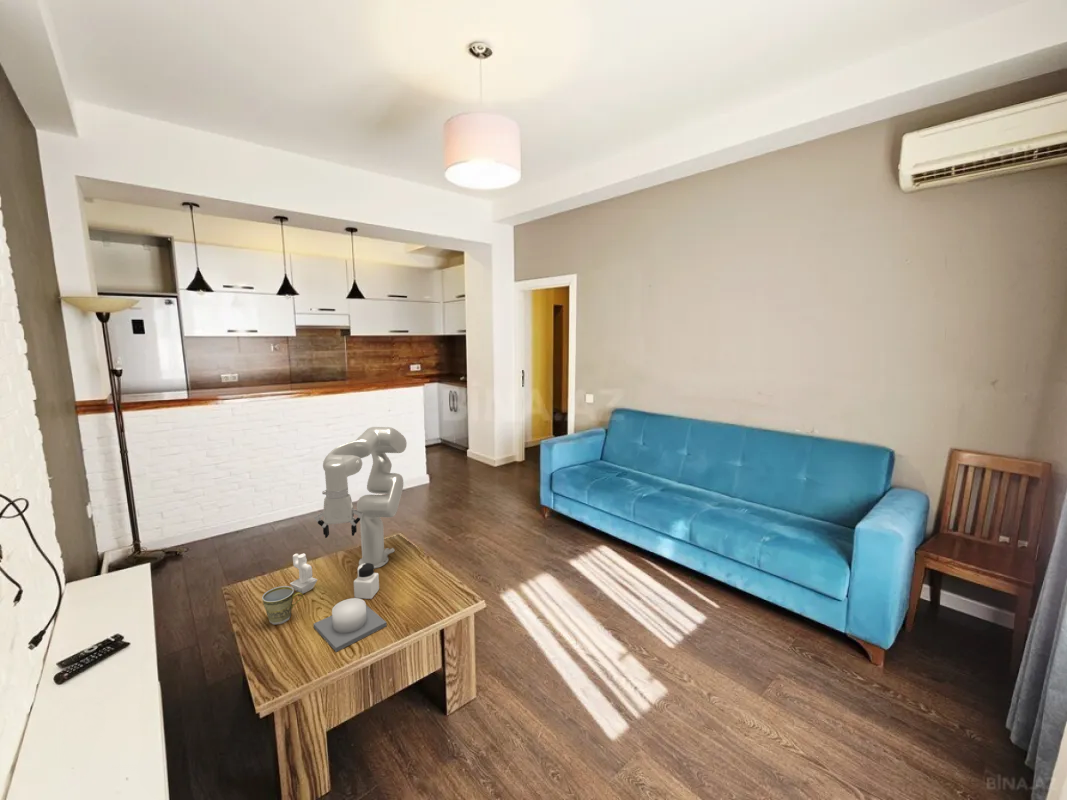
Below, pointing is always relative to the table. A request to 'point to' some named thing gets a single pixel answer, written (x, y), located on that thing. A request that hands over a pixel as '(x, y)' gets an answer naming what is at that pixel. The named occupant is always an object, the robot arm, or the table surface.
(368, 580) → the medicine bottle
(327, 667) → the table surface
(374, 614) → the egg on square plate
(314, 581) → the figurine
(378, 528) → the robot arm
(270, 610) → the ceramic cup
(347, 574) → the table surface
